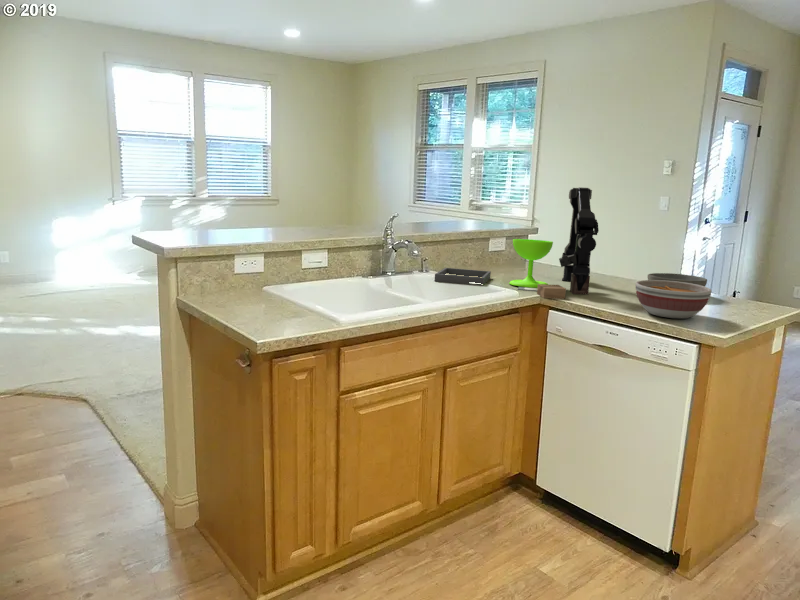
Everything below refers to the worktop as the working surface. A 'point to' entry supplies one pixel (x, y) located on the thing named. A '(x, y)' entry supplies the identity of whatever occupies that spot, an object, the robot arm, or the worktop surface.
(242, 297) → the worktop surface
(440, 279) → the glass rack frame
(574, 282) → the box
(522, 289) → the gray flat panel
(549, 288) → the base block
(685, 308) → the bowl
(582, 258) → the robot arm
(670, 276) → the bowl
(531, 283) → the wineglass
